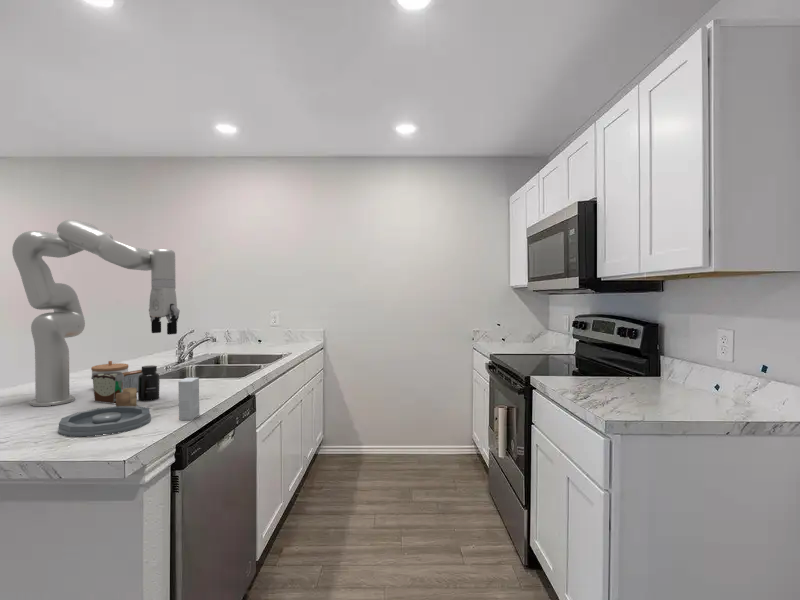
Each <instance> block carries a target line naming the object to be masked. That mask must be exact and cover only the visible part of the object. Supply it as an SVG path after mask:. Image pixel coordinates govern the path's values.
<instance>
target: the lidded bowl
mask: <svg viewBox="0 0 800 600" xmlns="http://www.w3.org/2000/svg"><path fill="white" fill-rule="evenodd" d="M90 371H91V374H92V373H98V372H122V373H124V372H129V364H128V363H119V362H117V363H113V360H108V363H104V364H98V365H94V366H92V367H91V369H90Z"/></svg>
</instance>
